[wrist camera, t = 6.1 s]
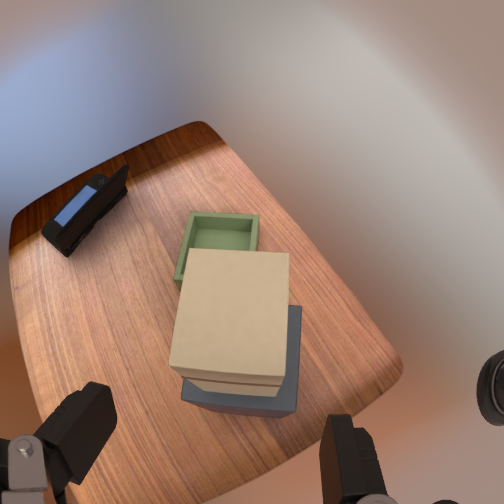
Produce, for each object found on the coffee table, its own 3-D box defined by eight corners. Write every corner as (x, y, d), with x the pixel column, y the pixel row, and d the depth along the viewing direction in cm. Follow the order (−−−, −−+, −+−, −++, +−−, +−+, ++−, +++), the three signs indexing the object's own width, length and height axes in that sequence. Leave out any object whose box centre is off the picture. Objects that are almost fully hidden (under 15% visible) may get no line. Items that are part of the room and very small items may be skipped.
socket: (259, 229, 46) (259, 214, 43) (252, 298, 40) (251, 286, 37) (194, 226, 46) (190, 211, 43) (179, 291, 41) (172, 279, 38)
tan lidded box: (280, 316, 23) (290, 252, 16) (276, 397, 20) (286, 377, 12) (212, 311, 24) (188, 246, 16) (202, 391, 20) (166, 366, 13)
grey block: (287, 352, 36) (302, 305, 24) (281, 418, 32) (295, 411, 19) (220, 346, 37) (197, 297, 24) (211, 411, 33) (180, 399, 20)
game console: (99, 176, 54) (82, 140, 46) (146, 201, 49) (130, 161, 42) (42, 235, 47) (16, 203, 39) (82, 272, 43) (52, 239, 35)
